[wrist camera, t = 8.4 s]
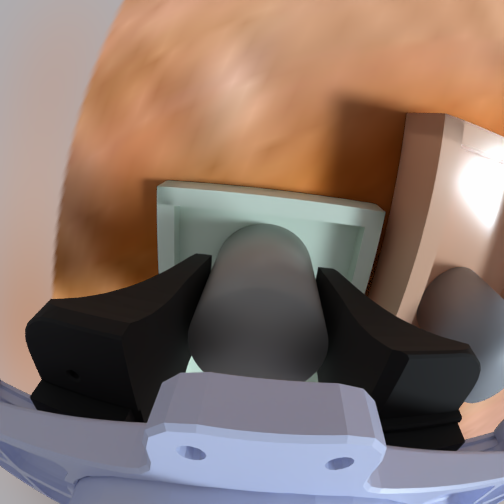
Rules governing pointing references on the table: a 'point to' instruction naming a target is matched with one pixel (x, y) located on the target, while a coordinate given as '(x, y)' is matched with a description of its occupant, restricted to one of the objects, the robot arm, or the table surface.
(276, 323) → the pebble
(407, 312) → the dish
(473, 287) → the pebble
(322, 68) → the table surface
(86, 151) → the table surface
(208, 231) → the parts tray
